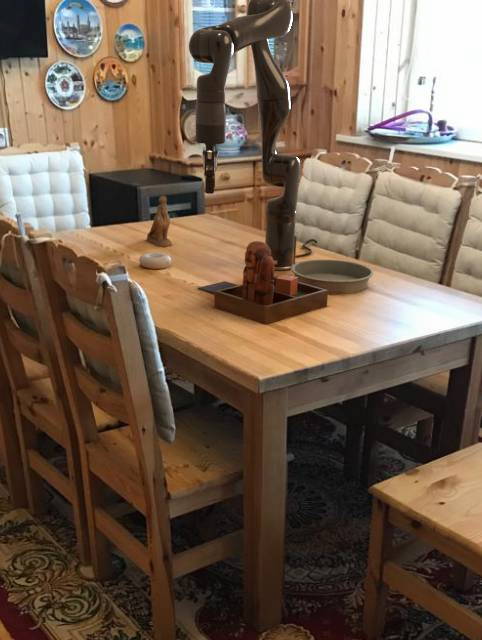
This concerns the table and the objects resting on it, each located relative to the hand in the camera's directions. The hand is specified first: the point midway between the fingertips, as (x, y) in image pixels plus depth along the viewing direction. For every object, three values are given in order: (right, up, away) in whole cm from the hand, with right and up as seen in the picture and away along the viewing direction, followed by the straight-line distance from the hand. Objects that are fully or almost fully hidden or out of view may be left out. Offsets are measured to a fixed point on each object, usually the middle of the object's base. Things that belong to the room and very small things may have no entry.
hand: (210, 190), depth 211 cm
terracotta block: (+20, -23, +14) cm, 34 cm away
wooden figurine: (+12, -30, +7) cm, 33 cm away
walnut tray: (+16, -27, +11) cm, 34 cm away
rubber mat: (+3, -19, +24) cm, 31 cm away
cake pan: (+34, -16, +34) cm, 50 cm away
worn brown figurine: (-23, +9, +73) cm, 77 cm away
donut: (-20, -7, +45) cm, 49 cm away
